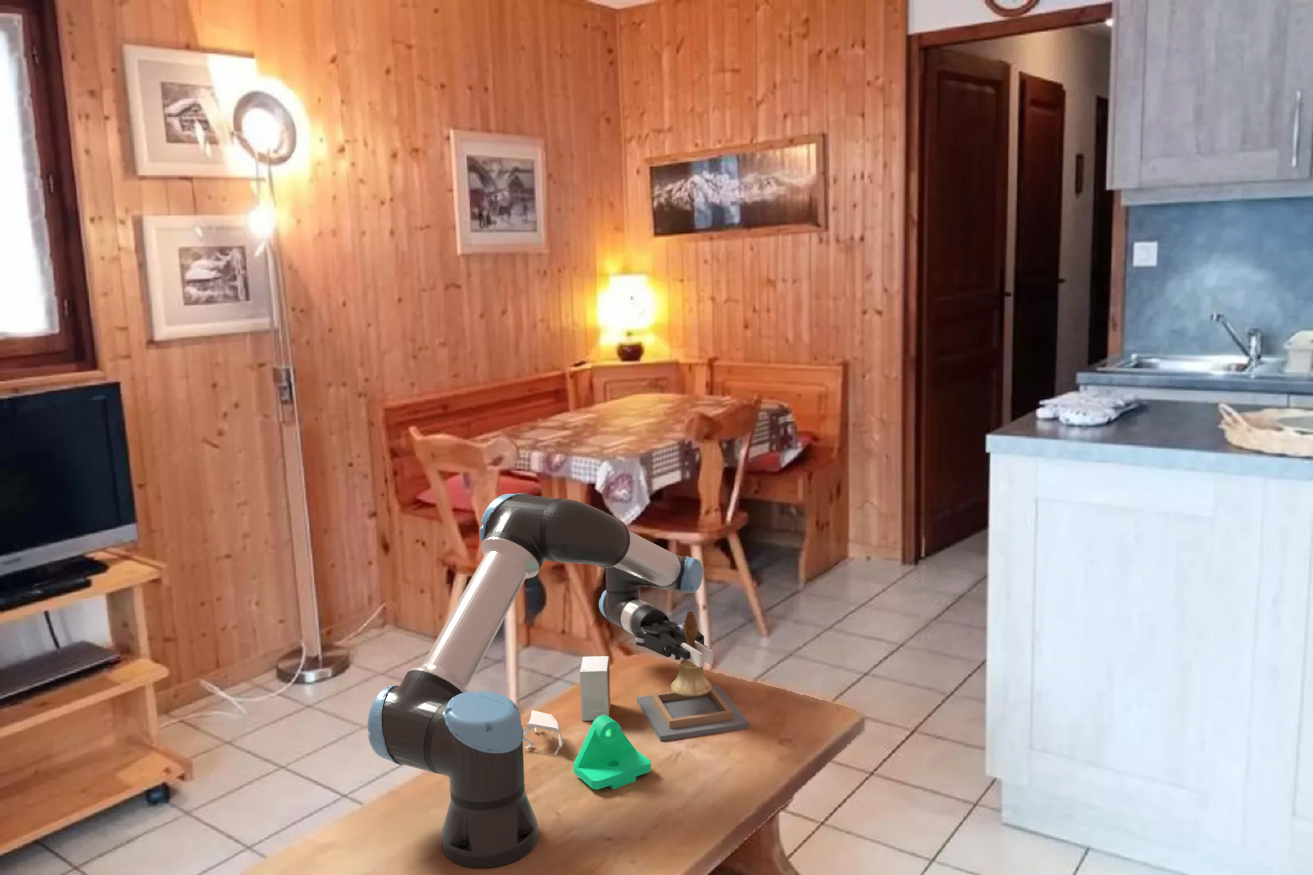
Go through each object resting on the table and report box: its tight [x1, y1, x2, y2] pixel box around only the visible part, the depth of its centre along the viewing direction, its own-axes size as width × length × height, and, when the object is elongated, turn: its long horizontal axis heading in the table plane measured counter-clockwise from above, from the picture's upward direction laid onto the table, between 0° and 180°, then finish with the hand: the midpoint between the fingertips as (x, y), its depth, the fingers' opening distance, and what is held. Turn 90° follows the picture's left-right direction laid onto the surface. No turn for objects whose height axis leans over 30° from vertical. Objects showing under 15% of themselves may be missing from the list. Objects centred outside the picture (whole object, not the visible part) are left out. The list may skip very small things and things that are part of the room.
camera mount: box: [572, 715, 652, 790], centre depth 184 cm, size 12×8×10 cm, turn 123°
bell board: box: [636, 685, 750, 742], centre depth 208 cm, size 18×18×2 cm
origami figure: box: [523, 709, 564, 756], centre depth 196 cm, size 12×8×5 cm
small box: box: [579, 655, 611, 722], centre depth 209 cm, size 8×6×10 cm
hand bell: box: [670, 610, 713, 696], centre depth 206 cm, size 8×8×16 cm
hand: (706, 659), depth 201 cm, fingers closed on hand bell, 2 cm apart
